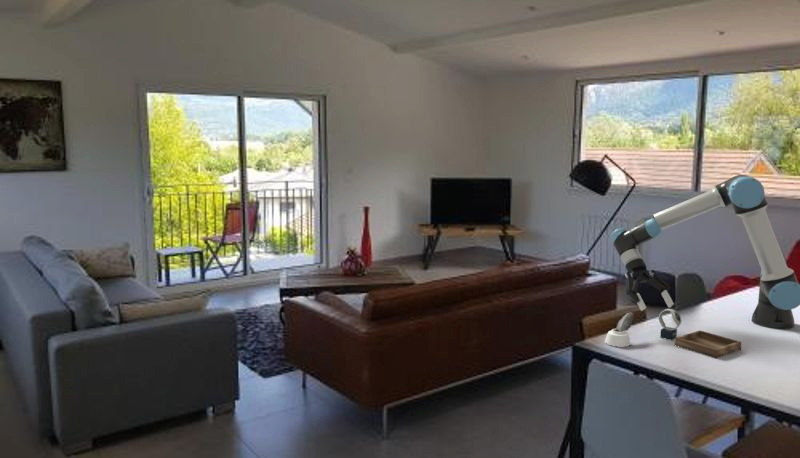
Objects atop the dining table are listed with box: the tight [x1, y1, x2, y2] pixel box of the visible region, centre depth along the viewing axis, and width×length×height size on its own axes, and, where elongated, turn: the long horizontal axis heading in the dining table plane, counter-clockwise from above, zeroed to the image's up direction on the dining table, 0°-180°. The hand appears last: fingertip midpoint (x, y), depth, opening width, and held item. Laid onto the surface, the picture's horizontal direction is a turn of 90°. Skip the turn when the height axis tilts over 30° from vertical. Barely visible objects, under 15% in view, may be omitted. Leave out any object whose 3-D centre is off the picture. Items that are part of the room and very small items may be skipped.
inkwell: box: [604, 311, 635, 348], centre depth 237 cm, size 9×18×10 cm, turn 140°
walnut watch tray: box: [674, 329, 743, 359], centre depth 229 cm, size 16×16×3 cm
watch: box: [658, 308, 682, 341], centre depth 240 cm, size 6×8×11 cm
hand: (657, 307), depth 245 cm, fingers open, 13 cm apart
